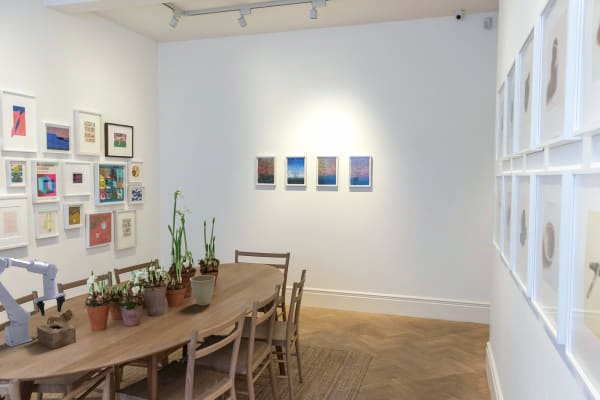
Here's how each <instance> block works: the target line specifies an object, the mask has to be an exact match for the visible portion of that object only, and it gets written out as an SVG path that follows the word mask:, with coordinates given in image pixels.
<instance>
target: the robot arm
mask: <svg viewBox="0 0 600 400" xmlns="http://www.w3.org/2000/svg"><path fill="white" fill-rule="evenodd" d="M10 267H17V268H21V269H26V271H27V272H28V273H34V274H39V275H42V285H43V287H42V288H43V296H40V297H36V298H33V303H34V304H36V306H37V308H38V309H39V311H40V314H41V316H42V317H46V316H45V303H44V302H47V301H50V300H55V299H56V306H57V307H56V309H57V313H61V312H62V308H63V304H64V302H65V300H66V298H67V293H66V292H59V293H58V292H57V278H56V277H57V273H58V271H59V269H58V268H57V266H56V265H55V264H52V263H48V262H47V261H44V262H42V261H39V260H38V259H34V260H33V259H32V260H30V261H24V260H21V259H16V258H12V257H6V256H4V257H3V256H0V276H1V275H2V273H3V272H4V271H5V269H9V268H10ZM0 304H1V305H2V307H4V309H5V310H4V311H5V313H6V315H7V319H8V320H9V321H10V324H9V325H7V326H5V328H4V344H5V345H7V346H9V347H15V346H17V345H22V344H25V343H28V342H29V343H30V342H32V341H33V339H32V338H30V334H29V333H30V332H29V331H30V329H29V321H30V320H31V317H32V316H31V312H30V311H27V310H25V309H24V307H23V306H21V305H20V304H19V303H18V302H16V300H15V298H14V297H13V296H12V295H11V294H10V292H9V290H8V289H7V288H6V287H5V286H4V284H3V283H2V281H0Z"/></svg>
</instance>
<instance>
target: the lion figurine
mask: <svg viewBox="0 0 600 400" xmlns="http://www.w3.org/2000/svg"><path fill="white" fill-rule="evenodd" d="M75 315H76V313H75V309H74V308H69V309H68V310H66V311H65V312H63V313H62V314H60V315H51V316H49V317H48V318H47V320H46V324H50V323H54V322H58V321H63V322H65V323H67V324H68V323H69V322H70V321H72V319H73V318H74V317H75Z"/></svg>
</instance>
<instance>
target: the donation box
mask: <svg viewBox="0 0 600 400" xmlns="http://www.w3.org/2000/svg"><path fill="white" fill-rule="evenodd" d="M36 329H37V333H36V334H37V342H39V343H40V344H42V345H44V346H45V347H47V348H49V349H51V350H53V349H57V348H59V347H62V346H66V345H69V344H73V343H76V342H77V341H76V340H77V337H76V334H77V333H76V327H75V326H73V325H71V324H69V323H68V322H67V323H65V322H63V321H58V322H55V321H54V323H50V324H47V323H46V324H43V325H38V326H37V327H36ZM54 329H56V330H54Z"/></svg>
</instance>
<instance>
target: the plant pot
mask: <svg viewBox="0 0 600 400" xmlns="http://www.w3.org/2000/svg"><path fill="white" fill-rule="evenodd" d="M215 281H216V276H214V275H209V274H208V275H207V274H206V275H205V274H204V275H196V276H192V277H190V278H189V282H190V286H191V287H190V288H191V291H192V294H193V298H194V301H195V302H196V304H197V306H207V305H209V304H210V302H211V300H212V297H213V293H214V288H215Z"/></svg>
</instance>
